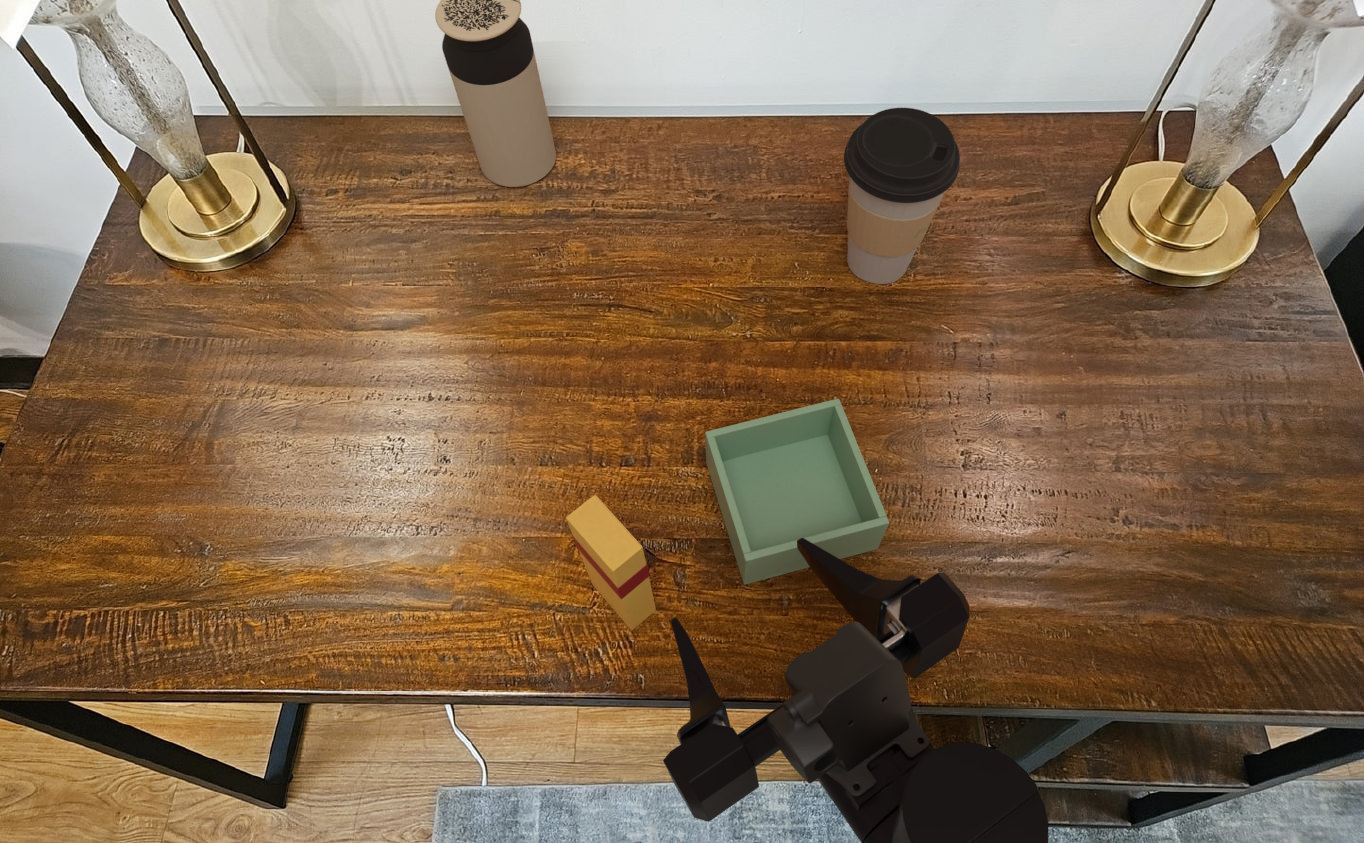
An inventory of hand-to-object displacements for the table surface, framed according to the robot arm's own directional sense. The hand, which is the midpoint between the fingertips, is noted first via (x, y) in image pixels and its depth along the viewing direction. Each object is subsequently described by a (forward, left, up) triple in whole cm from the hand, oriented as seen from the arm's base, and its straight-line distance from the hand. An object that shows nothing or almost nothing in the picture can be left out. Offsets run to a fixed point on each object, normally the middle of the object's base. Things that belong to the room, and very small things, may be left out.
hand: (737, 580), depth 54 cm
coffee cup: (+25, -31, -16) cm, 43 cm away
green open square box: (+8, -10, -16) cm, 20 cm away
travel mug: (+55, -7, -16) cm, 57 cm away
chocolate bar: (+8, +5, -16) cm, 18 cm away
